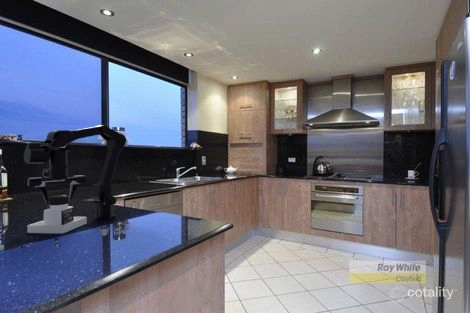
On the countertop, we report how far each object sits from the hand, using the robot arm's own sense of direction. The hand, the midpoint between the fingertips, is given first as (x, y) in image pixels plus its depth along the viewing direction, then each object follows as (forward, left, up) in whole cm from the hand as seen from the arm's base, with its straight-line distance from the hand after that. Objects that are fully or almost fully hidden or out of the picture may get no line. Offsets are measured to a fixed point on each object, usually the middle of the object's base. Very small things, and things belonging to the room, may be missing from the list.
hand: (58, 202), depth 101 cm
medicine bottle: (0, 0, -10) cm, 10 cm away
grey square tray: (0, 0, -10) cm, 10 cm away
